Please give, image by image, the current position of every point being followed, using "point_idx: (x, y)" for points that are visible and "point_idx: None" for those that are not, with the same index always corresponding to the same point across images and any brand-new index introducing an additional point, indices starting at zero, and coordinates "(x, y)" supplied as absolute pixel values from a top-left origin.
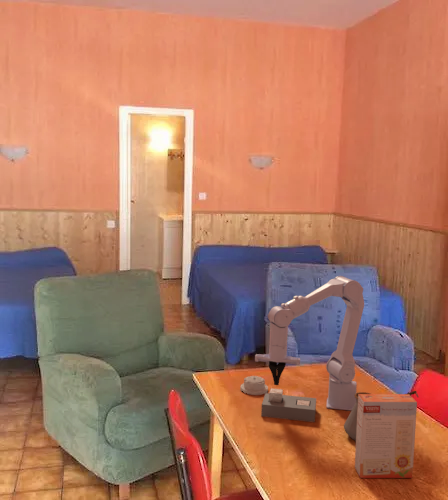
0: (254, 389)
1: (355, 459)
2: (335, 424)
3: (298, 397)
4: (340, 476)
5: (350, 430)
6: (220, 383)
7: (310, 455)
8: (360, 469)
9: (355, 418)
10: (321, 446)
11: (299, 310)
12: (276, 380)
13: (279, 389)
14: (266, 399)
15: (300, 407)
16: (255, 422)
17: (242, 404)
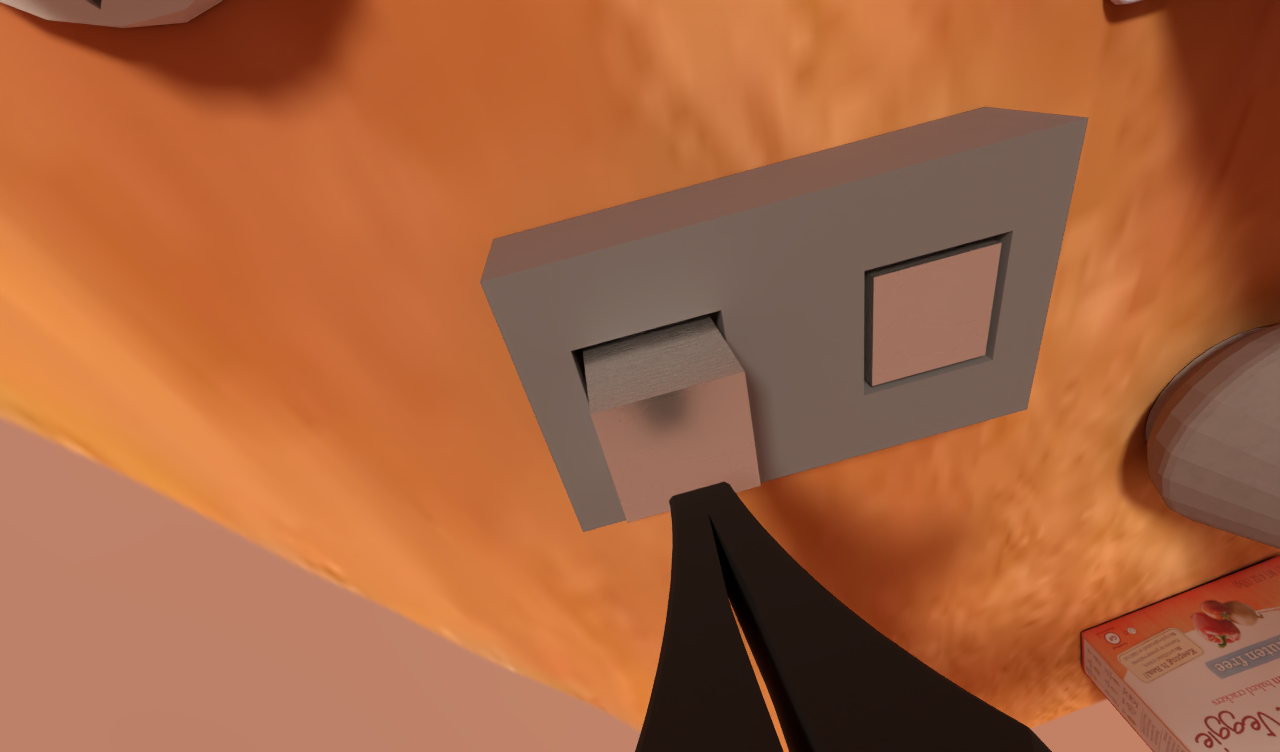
0: None
1: (1113, 674)
2: (1099, 316)
3: (880, 205)
4: (1016, 685)
5: (1190, 518)
6: None
7: (919, 644)
8: (1109, 699)
9: None
10: (972, 573)
11: None
12: (737, 617)
13: (704, 390)
14: (574, 431)
15: (907, 424)
16: (583, 544)
17: (308, 349)
